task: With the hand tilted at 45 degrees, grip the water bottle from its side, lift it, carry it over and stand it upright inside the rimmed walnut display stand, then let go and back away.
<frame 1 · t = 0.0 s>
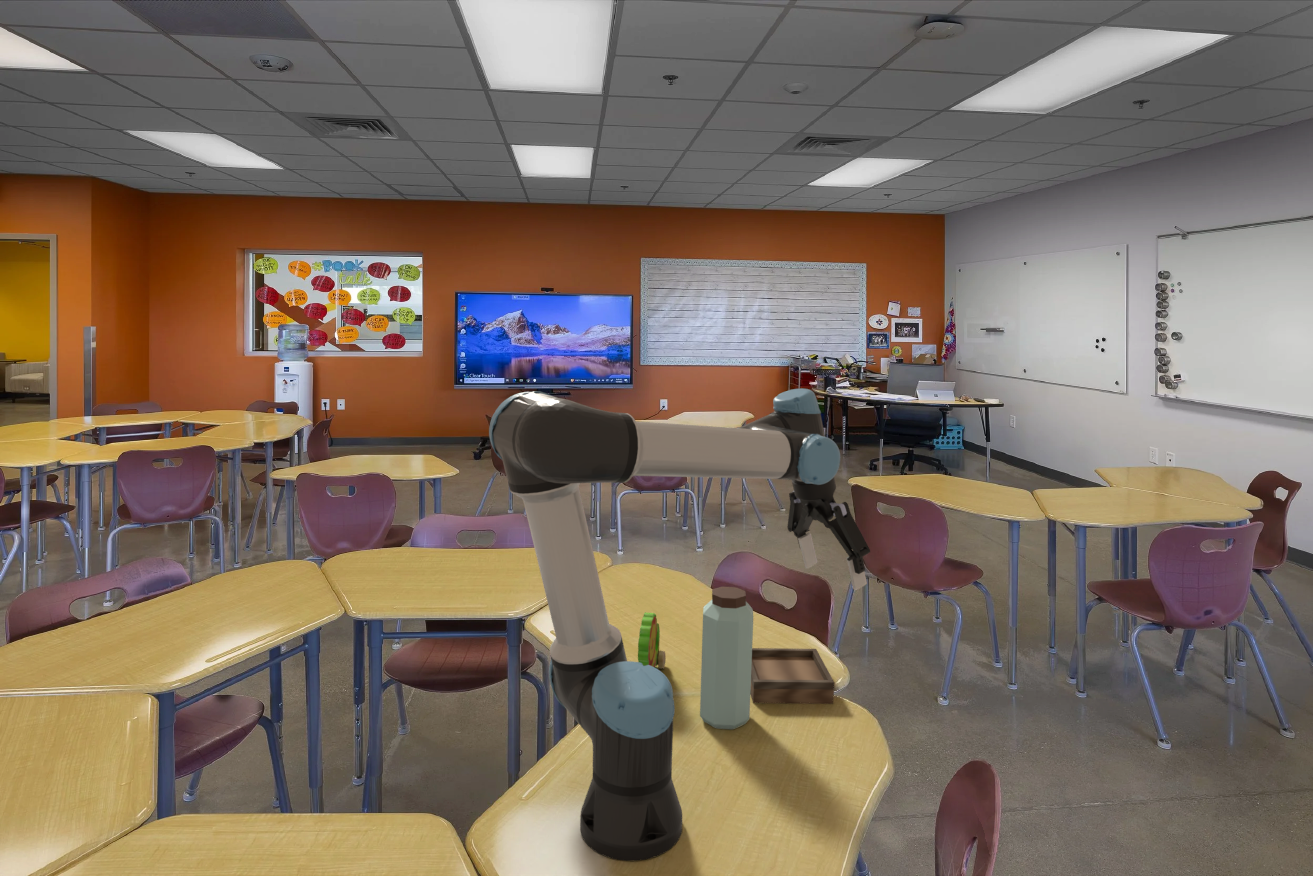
hand: (834, 575, 145), 28 cm above the table, tool tilted 20°, fingers open, 13 cm apart
water bottle: (724, 719, 147), on the table
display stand: (785, 684, 161), on the table
toy lion: (648, 680, 162), on the table
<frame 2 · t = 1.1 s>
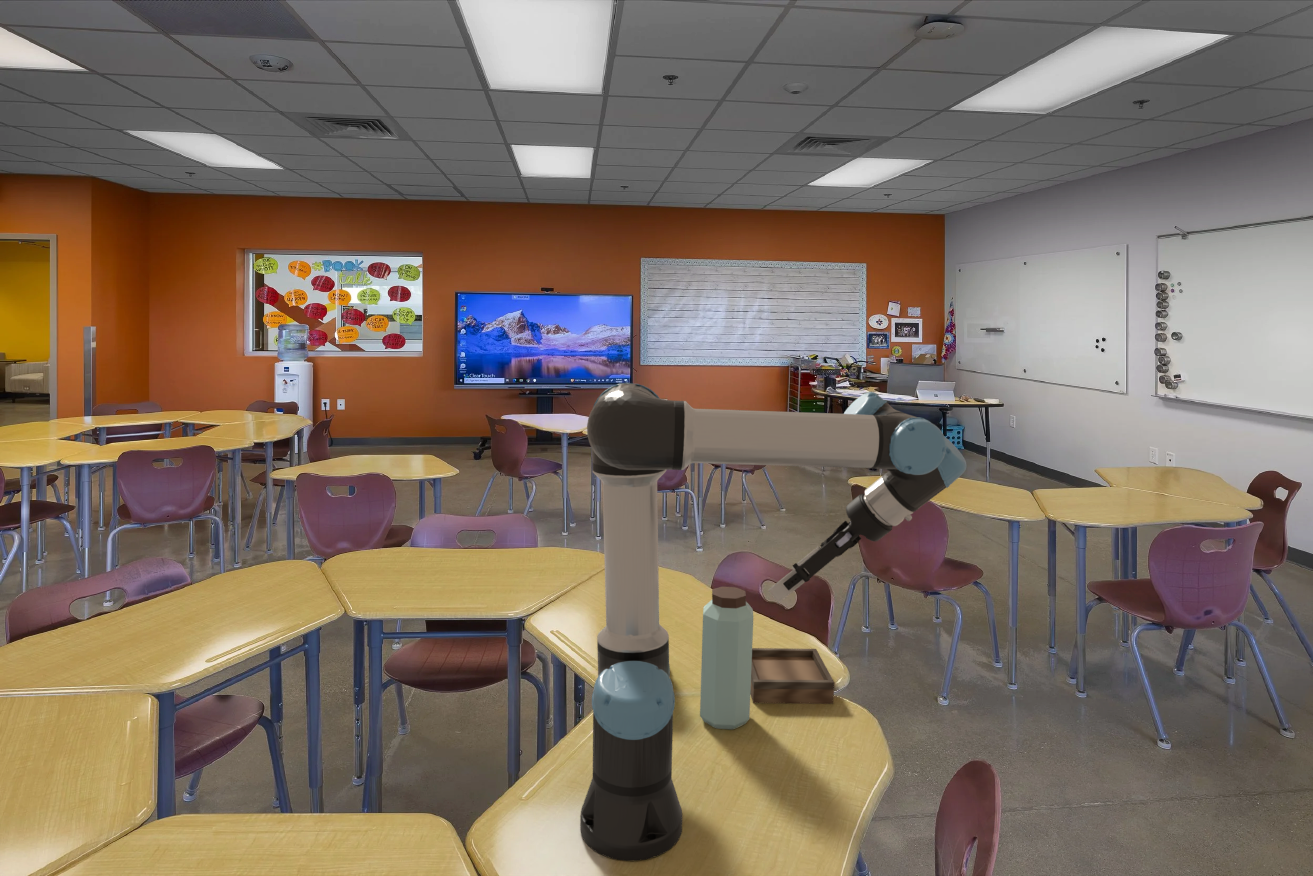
hand: (785, 584, 134), 30 cm above the table, tool tilted 45°, fingers open, 13 cm apart
nothing on the table moved.
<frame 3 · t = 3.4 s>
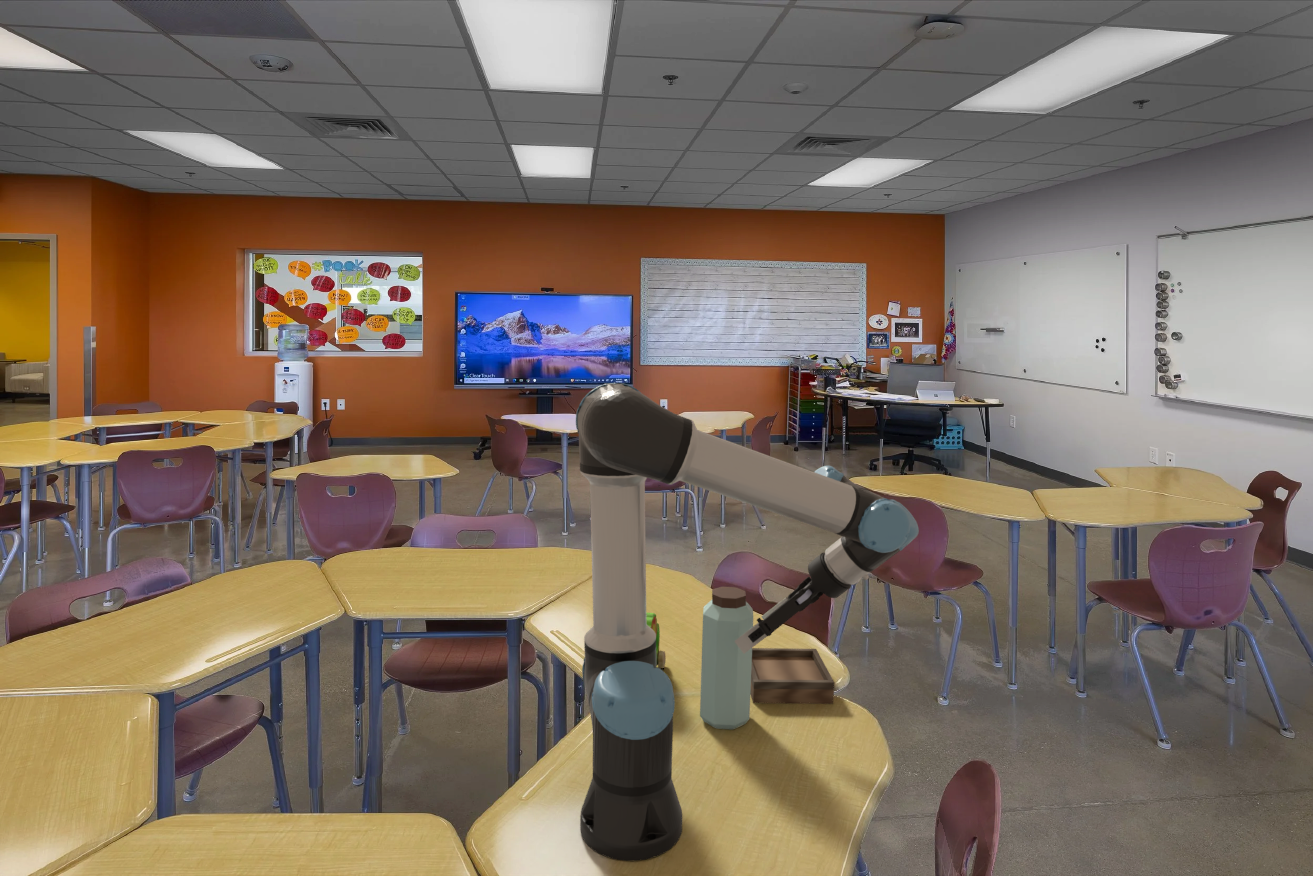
hand: (753, 634, 142), 18 cm above the table, tool tilted 45°, fingers open, 13 cm apart
nothing on the table moved.
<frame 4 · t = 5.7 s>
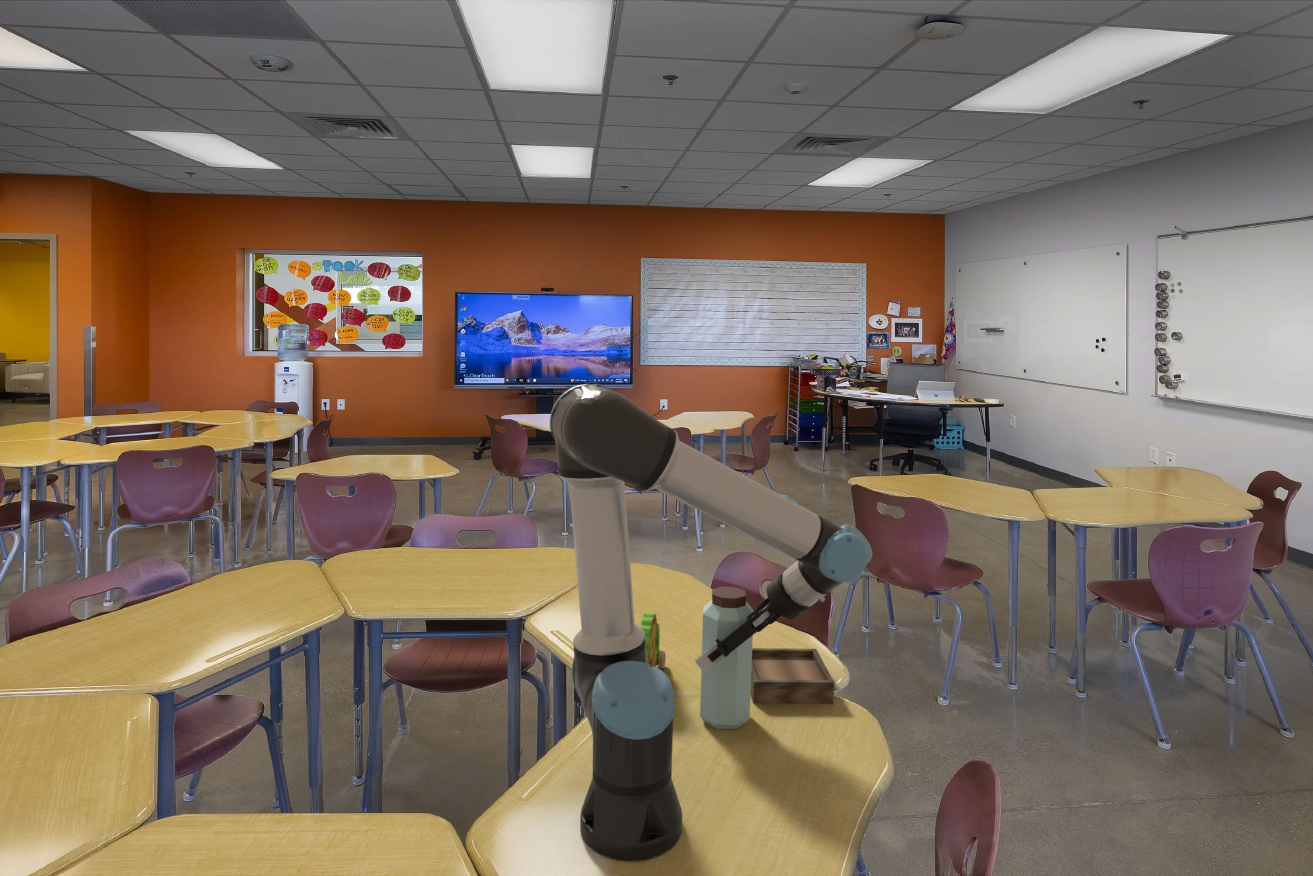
hand: (711, 655, 146), 12 cm above the table, tool tilted 45°, fingers closed on water bottle, 10 cm apart
water bottle: (724, 719, 147), on the table, touching gripper
everything else where it was.
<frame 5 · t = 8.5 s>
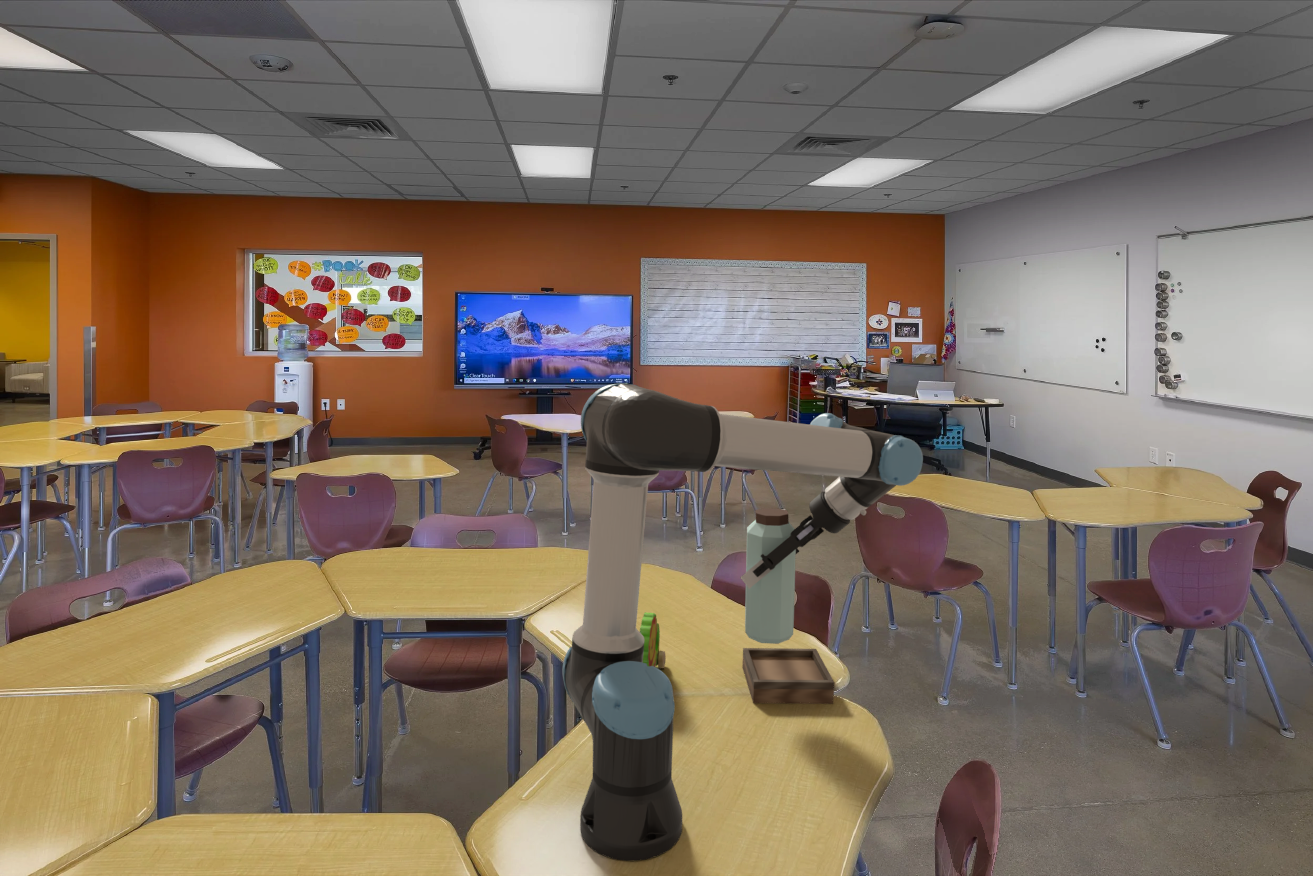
hand: (755, 574, 151), 26 cm above the table, tool tilted 45°, fingers closed on water bottle, 10 cm apart
water bottle: (768, 636, 152), point 14 cm above the table, touching gripper
everything else where it was.
when the fingers open (16 cm above the table, at t = 11.6 s): water bottle drops 1 cm, resting on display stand.
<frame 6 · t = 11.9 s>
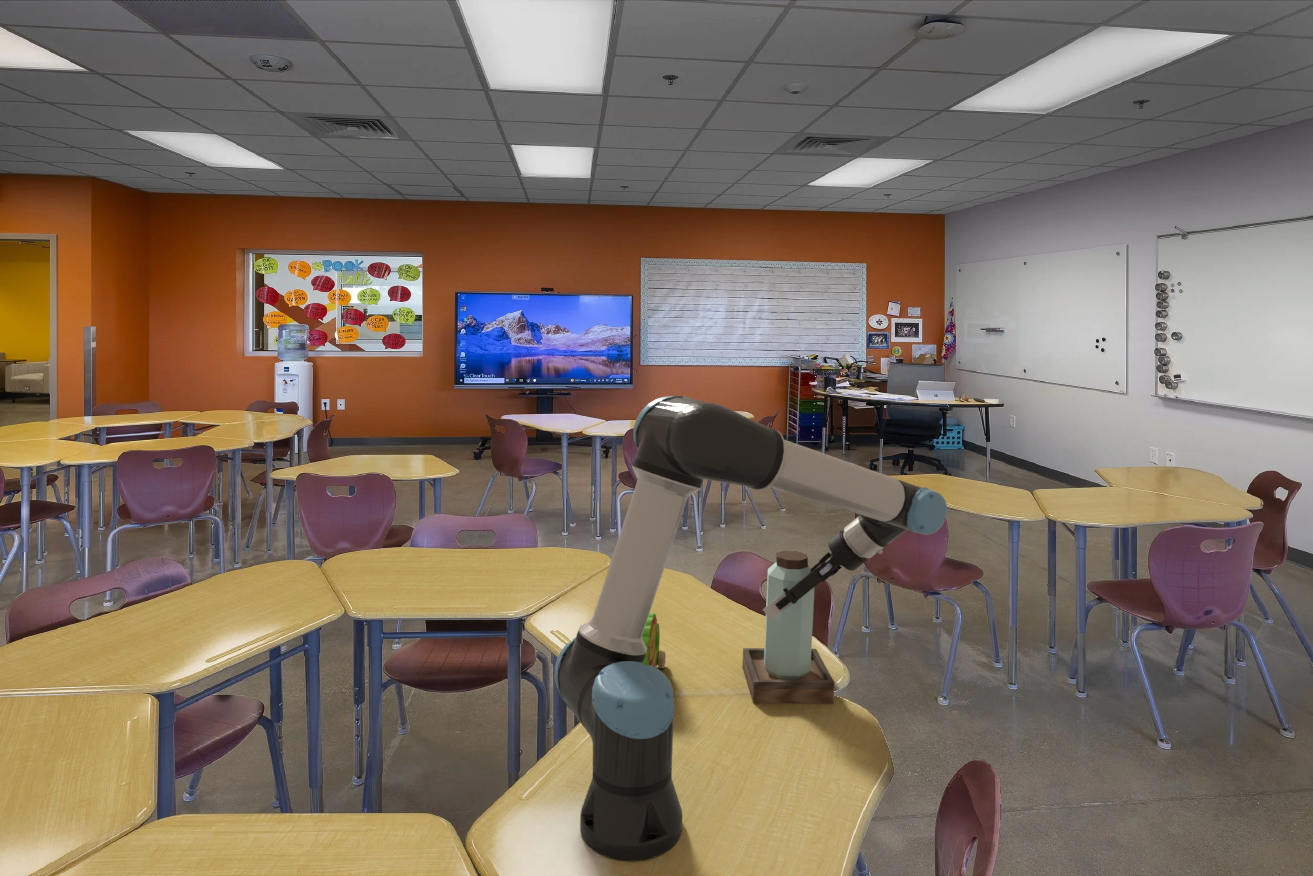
hand: (778, 604, 159), 17 cm above the table, tool tilted 45°, fingers open, 13 cm apart
water bottle: (786, 672, 160), point 3 cm above the table, touching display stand
everything else where it was.
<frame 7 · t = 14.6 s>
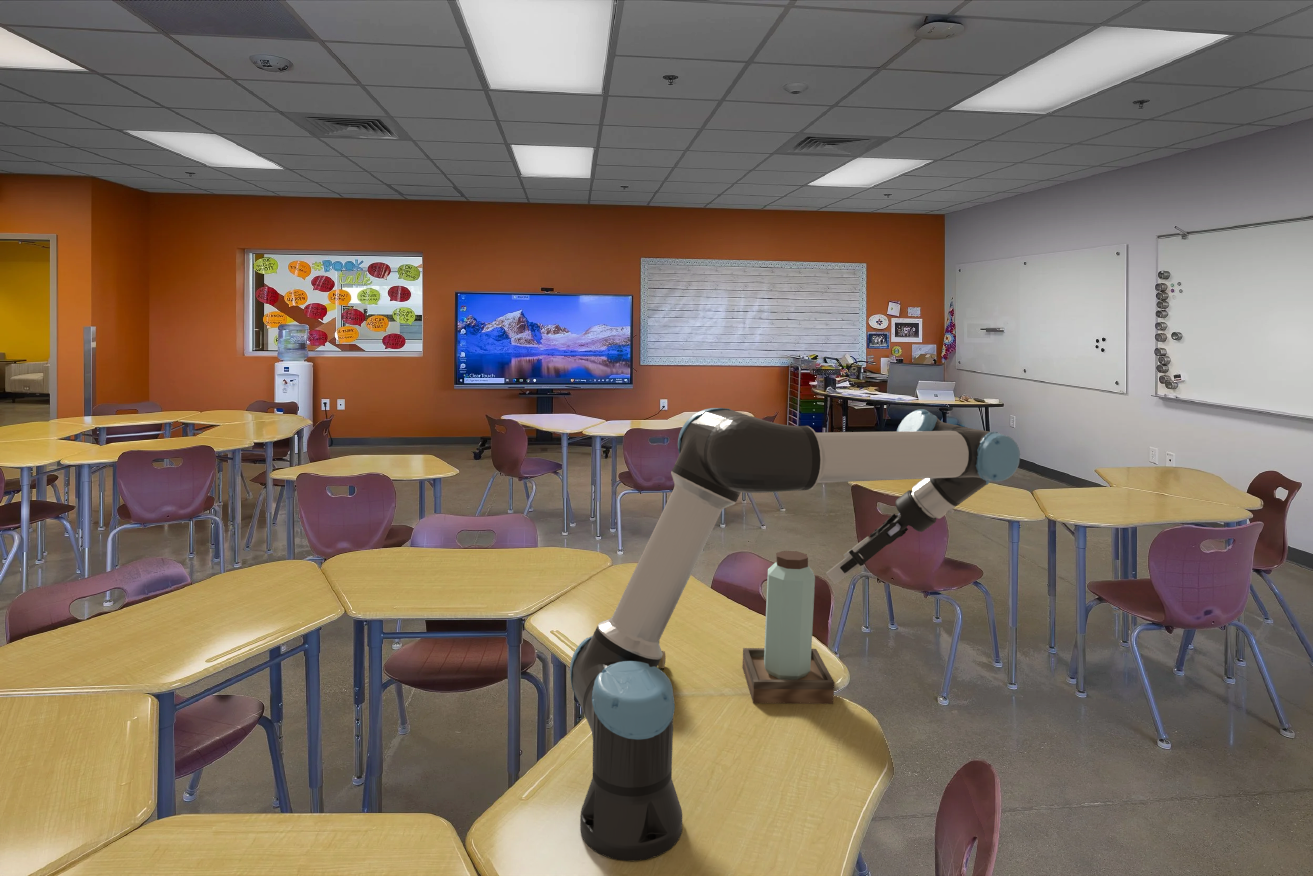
hand: (839, 569, 153), 27 cm above the table, tool tilted 45°, fingers open, 13 cm apart
nothing on the table moved.
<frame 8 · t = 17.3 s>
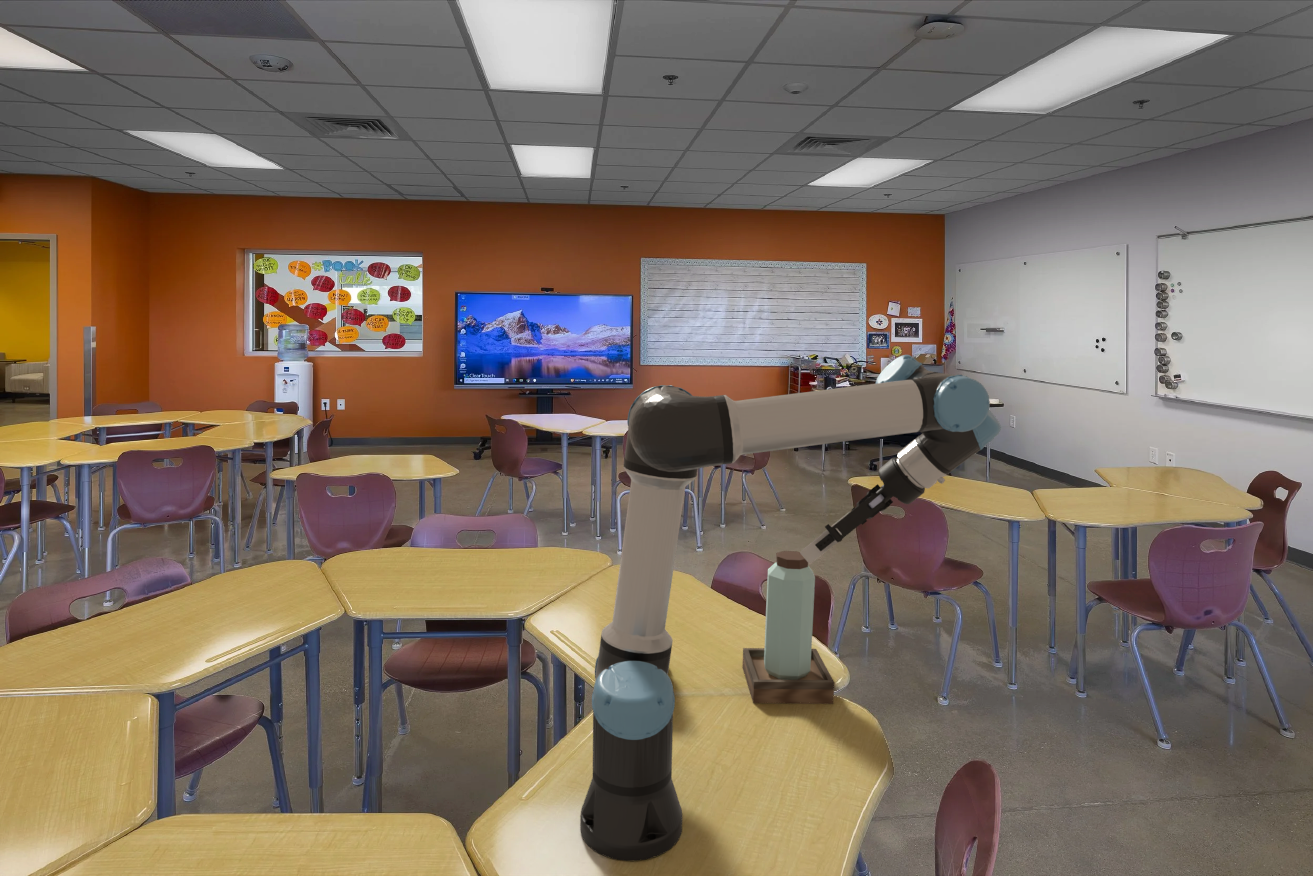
hand: (816, 548, 135), 36 cm above the table, tool tilted 45°, fingers open, 13 cm apart
nothing on the table moved.
at the end: water bottle inside the target area on the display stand (0.1 cm from its centre), point 2.8 cm above the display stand's base; water bottle tilted 0°; the gripper is holding nothing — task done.
